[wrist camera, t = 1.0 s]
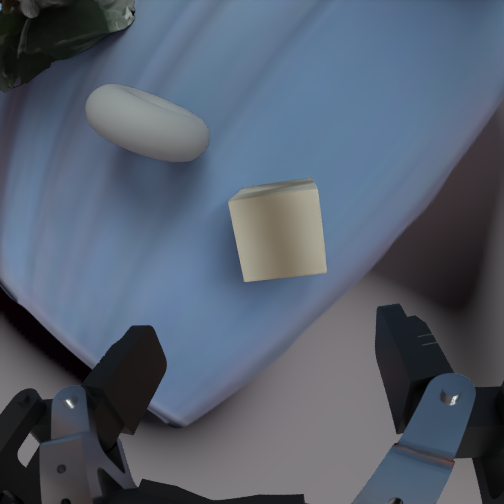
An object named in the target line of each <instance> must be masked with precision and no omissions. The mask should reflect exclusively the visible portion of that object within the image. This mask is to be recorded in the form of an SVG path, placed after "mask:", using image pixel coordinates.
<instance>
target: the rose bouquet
mask: <svg viewBox="0 0 504 504" xmlns="http://www.w3.org/2000/svg"><path fill="white" fill-rule="evenodd" d="M0 3H1V4H2V10H1V11H0V90H1V91H3V92H4V93H5V92H7V91H9V90H11V89H13V88H15V87H14V86H13V84H14V83H15V81H16V79H17V78H18V76H20V77H21V84H20V85H22V84H24V83H27V82H29V81H30V80H31V79H32V78H34V77H35V76H36V75H38V74H39V73H41V72H42V71H44V70H45V69H47V68H50V64H51V62H54V61H55V60H59V59H66V58H69V57H71V56H73V55H75V54H77V53H80V52H82V51H85V50H87V49H88V48H90V47H92V46H93V45H95V44H96V43H97V42H99V41H100V40H101V39H102V38H104V37H105V36H107V35H108V34H110V33H111V32H117V31H120V30H123V29H125V28H126V27H127V26H129V25H130V24H131V23H132V22H133V20H134V19H135V16H134V13H135V8H134V0H0ZM20 85H18V86H20ZM18 86H16V87H18Z"/></svg>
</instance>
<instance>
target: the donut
mask: <svg viewBox="0 0 504 504" xmlns="http://www.w3.org/2000/svg"><path fill="white" fill-rule="evenodd" d="M85 113H86V119H87V121H88V124H89V125H90V126H91V127H92V128H93V129H94V130H95V131H96V132H97V133H98V134H99V135H100V136H102V137H104V138H105V139H107V140H108V141H110V142H112V143H114V144H116V145H118V146H120V147H122V148H124V149H127V150H129V151H132V152H135V153H138V154H140V155H143V156H147V157H150V158H154V159H157V160H163V161H169V162H188V161H191V160H194V159H196V158H197V157H199V156H200V155H201V154H202V153H204V151H205V150H206V149H207V147H208V145H209V142H210V132H209V129H208V127H207V126H206V124H205V123H204V122H203V120H202V119H200V118H199V117H198V116H196V115H195V114H193V113H191V112H190V111H188V110H186V109H184V108H182V107H180V106H178V105H176V104H174V103H172V102H170V101H167V100H165V99H163V98H160V97H158V96H155V95H153V94H150V93H147V92H144V91H141V90H138V89H135V88H131V87H127V86H123V85H118V84H108V85H103V86H101V87H99V88H97V89H95V90H94V91H93V92H92V93H91V94H90V96H89V97H88V99H87V101H86V106H85Z"/></svg>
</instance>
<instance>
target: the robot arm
mask: <svg viewBox="0 0 504 504" xmlns="http://www.w3.org/2000/svg"><path fill="white" fill-rule="evenodd" d="M375 353H376V359H377V363H378V366H379V370H380V373H381V377H382V380H383V383H384V387H385V391H386V394H387V398H388V402H389V406H390V409H391V413H392V417H393V421H394V425H395V429H396V434H401V433H403V435H402V436H401V438H400V440H399V441H398V443H395V444H394V445H393V446H392V447H391V449H390V450H389V452H388V453H387V454H386V456H385V458H384V459H383V460H382V462H381V464H380V465H379V467H378V468H377V469H376V471H375V472H374V474H373V475H372V477H371V478H370V479H369V481H368V482H367V483H366V485H365V486H364V487H363V489H362V490H361V492H360V493H359V494H358V495H357V497H356V498H355V499H354V501H353V502H352V503H351V504H436V502H437V500H438V499H439V497H440V495H441V493H442V491H443V489H444V487H445V485H446V483H447V481H448V478H449V476H450V474H451V472H452V469H453V467H454V463H455V461H454V458H472V460H473V464H474V468H475V472H476V476H477V480H478V484H479V489H480V494H481V499H482V504H504V381H503V384H502V386H500V387H474V385H473V383H472V382H471V381H470V380H469V379H468V378H466V377H465V376H462V375H460V374H455V373H454V372H453V370H452V368H451V366H450V364H449V363H448V361H447V359H446V357H445V355H444V353H443V352H442V350H441V348H440V347H439V345H438V343H436V340H435V338H434V336H433V335H432V333H431V331H430V329H429V328H428V326H427V324H426V323H425V322H423V321H422V320H421V319H419V318H418V317H416V316H410V317H407V316H406V314H405V312H404V310H403V309H402V307H401V305H400V304H392V305H386V306H379V307H378V308H377V314H376V337H375ZM166 368H167V361H166V357H165V355H164V352H163V350H162V347H161V345H160V342H159V340H158V337H157V335H156V332H155V330H154V328H153V327H152V326H150V325H139V326H131V327H130V328H129V330H128V331H127V332H126V333H125V335H124V336H123V337H122V338H121V339H120V340H119V341H117V342H116V343H115V344H113V345H112V346H111V347H110V348H109V350H108V351H107V352H106V354H105V356H103V357H102V359H101V360H100V363H98V364H97V365H96V366H95V368H94V369H93V370H92V372H91V373H90V374H89V375H88V377H87V378H86V380H85V381H84V382H83V383H82V385H81V386H79V385H72V386H68V387H65V388H63V389H62V390H60V391H59V392H58V393H57V394H56V395H55V397H54V398H53V399H46V400H42V398H41V397H40V396H39V394H38V393H37V391H36V390H35V389H31V388H29V389H25V390H23V391H20V392H19V393H18V394H17V395H15V397H14V398H13V399H12V400H11V401H10V403H9V404H8V405H7V406H6V408H5V409H4V410H3V412H2V413H1V414H0V504H307V503H305V501H304V494H299V495H298V494H296V495H254V496H248V497H241V498H234V499H226V500H210V499H207V498H205V497H202V496H199V495H197V494H194V493H192V492H189V491H187V490H185V489H182V488H180V487H178V486H174V485H169V484H164V483H159V482H154V481H150V480H145V479H142V480H141V483H140V485H139V487H137V486H136V485H135V483H134V481H133V479H132V476H131V473H130V469H129V466H128V463H127V460H126V457H125V453H124V449H123V446H122V442H121V440H120V439H119V438H118V436H119V434H120V433H126V434H130V435H134V433H135V431H136V429H137V427H138V425H139V423H140V421H141V419H142V417H143V415H144V413H145V411H146V409H147V407H148V405H149V403H150V401H151V399H152V398H153V396H154V394H155V392H156V390H157V388H158V386H159V384H160V382H161V380H162V378H163V376H164V374H165V372H166ZM29 433H31V434H32V436H33V437H34V438H35V439H36V440H37V441H38V442H39V444H40V445H39V447H38V449H37V450H36V452H35V453H34V455H33V457H32V458H31V460H30V462H29V463H28V465H27V467H25V466H23V465H22V464H21V463H20V461H19V460H18V456H17V453H18V450H19V448H20V446H21V445H22V443H23V442H24V440H25V439H26V437H27V436H28V434H29Z"/></svg>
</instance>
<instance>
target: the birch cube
mask: <svg viewBox="0 0 504 504" xmlns="http://www.w3.org/2000/svg"><path fill="white" fill-rule="evenodd" d="M228 204H229V209H230V214H231V219H232V224H233V229H234V234H235V239H236V244H237V249H238V254H239V258H240V263H241V268H242V273H243V278H244V282H250V281H259V280H269V279H278V278H287V277H296V276H305V275H313V274H322V273H327V267H326V256H325V246H324V236H323V227H322V219H321V210H320V202H319V194H318V188H317V186H316V184H315V182H314V181H313V179H312V178H308V179H300V180H293V181H285V182H278V183H271V184H265V185H258V186H252V187H246V188H242V189H241V190H240V191H239V192H238V193H237V194H235V195H234V196H233V197H232V198H231V199H230V200H229V201H228Z"/></svg>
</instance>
